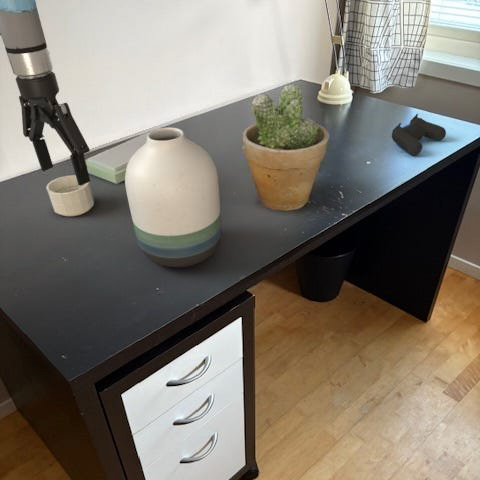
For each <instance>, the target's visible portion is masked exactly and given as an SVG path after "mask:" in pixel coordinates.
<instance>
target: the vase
mask: <svg viewBox="0 0 480 480" xmlns="http://www.w3.org/2000/svg"><path fill="white" fill-rule="evenodd" d="M150 131H151V132H149V131H148V132H149V133H148V135H147V142H146V143H145V144H144V145H143V146H142V147H141V148H140V149H139V150H137V151H136V153H135V154H134V155H133V156H132V157H131V159H130V160H129V162H128V165H127V168H126V173H125V180H124V185H125V191H126V197H127V202H128V206H129V210H130V215H131V219H132V225H133V229H134V233H135V237H136V241H137V244H138V247H139V248H140V250H141V251H142V253H143V254H144V255H145V257H146V258H148V259H149V260H150V261H151V262H153V263H155V264H157V265H160V266H164V267H168V268H169V267H170V268H185V267H191V266H194V265H197V264H199V263H202V262H204V261H206V260H208V259H209V258H210V257H211V256H212V255H213V254H214V253H215V251H216V250H217V248H218V246H219V244H220V241H221V236H222V217H221V216H222V215H221V200H220V188H219V187H220V186H219V176H218V171H217V167H216V165H215V162H214V160H213V159H212V157H211V155H210V154H209V153H208V152H207V151H206V150H205V149H204V148H203V147H201V146H200V145H198V144H197V143H195V142H194V141H192V140H189V139H188V138H186V136H185V132H184V130H182V129H180V128H178V127H160V128H155V129H153V130H150Z"/></svg>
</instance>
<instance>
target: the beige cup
mask: <svg viewBox="0 0 480 480" xmlns="http://www.w3.org/2000/svg"><path fill="white" fill-rule="evenodd" d="M45 188H46V192H47V195H48V197H49V201H50V204H51V207H52V209H53V211H54V213H55V214H58V215H59V216H64V217H75V216H76V217H77V216H81V215H83V214H85V213H87V212H89V211H90V210H91V209H92V208H93V207H94V205H95V198H94V195H93V191H92V188H91V184H90V182H88V183H86V184H84V185H81V186H80V185H78V182H77V178H76V175H75V174H71V175H70V174H69V175H64V176H63V175H62V176H59V177H57V178H55V179H52V180H51V181H49V183H47V185H46V187H45Z"/></svg>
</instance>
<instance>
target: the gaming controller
mask: <svg viewBox="0 0 480 480" xmlns="http://www.w3.org/2000/svg"><path fill="white" fill-rule="evenodd" d="M418 115H419V113H416V114H415V115H414V116H413V117H412V118H411V120H410V121H409V123H408V124H406V125H404V126H401V125H402V122H399V123H398V124H397V125H396V126H395V127H394V128H393V130H392V132H391V139H392V141H393V142H394V143H395V144H396V145H397V146H398V148H400V149H402V150H403V151H404V152H406V153H408V155H411V156H418V155H419V154H420V153H421V152H422V150H423V144H422V143H421V142H420V140H422V138H423V137H424V138H427V139H430V140H433V141H437V142H440V141H442V140H444V139H445V137H446V136H447V131H446V129H445V127H443V126H441V125H438V124H435V123H432V122H429V121H427V120H425V119H423V118H422V117H418Z"/></svg>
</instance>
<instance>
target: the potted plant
mask: <svg viewBox="0 0 480 480" xmlns="http://www.w3.org/2000/svg"><path fill="white" fill-rule="evenodd" d="M303 99H304V97H303V96H302V89H301V87H299V86H297V85H296V84H291V83H289V84H287V85H284V86H283V88H282V90H281V91H280V94H279V100H278V103H277V104H276V105H274V103H275V101H274V100H273V99H272V98H270V94H265V93H259V94H257V96H256V97H255V98H253V100H252V102H251V105H250V108H251V111H252V113H253V115H252V116H253V117H254V119H255V121H256V122H255V123H254V124H251V125H249V126H247V127H246V128H245V129H244V131H243V132H242V141H243V143H242V144H243V146H244V149H243V154H244V157H245V158H246V159H247V163H248V168H249V170H250V174H251V178H252V181H253V183H254V186H255V189H256V193H257V194H258V199H259V201H260V203H261V204H262V206H264V207H265V208H267V209H269V210H272V211H276V212H277V211H279V212H280V211H281V212H289V211H294V210H299V209H301V208H302V207H304V206H305V205H306V204H307V203H308V201H309V199H310V197H311V192H312V190H313V186H314V183H315V181H316V179H317V176H318V173H319V170H320V166H321V163H322V161H323V160H324V159H325V155H326V152H327V147H328V142H329V138H330V133H329V132H328V130H327V129H326V128H325V127H324V126H323V125H320V124H318V123H317V122H316V121H314V119H312V118H311V117H303V118H302V115H303V109H304V107H302V106H303V104H304V103H303Z"/></svg>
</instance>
